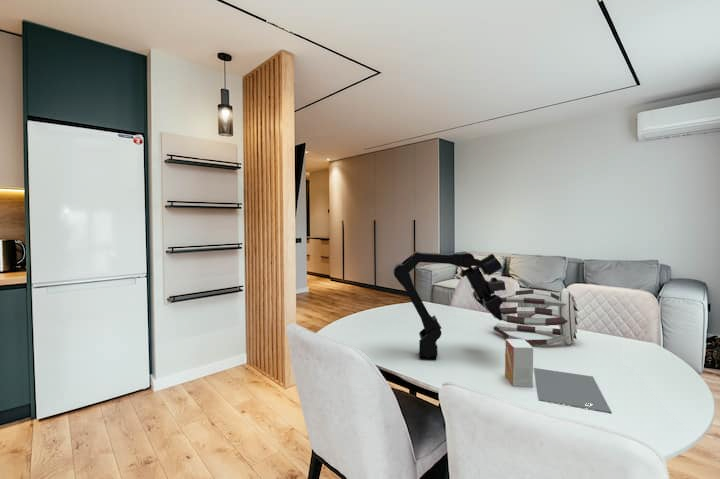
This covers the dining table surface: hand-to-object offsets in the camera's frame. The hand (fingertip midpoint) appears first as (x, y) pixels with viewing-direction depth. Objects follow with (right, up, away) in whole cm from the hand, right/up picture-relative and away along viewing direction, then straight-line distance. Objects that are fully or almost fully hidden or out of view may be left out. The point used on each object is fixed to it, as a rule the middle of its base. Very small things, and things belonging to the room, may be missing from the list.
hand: (497, 316), depth 134 cm
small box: (0, -18, -19) cm, 26 cm away
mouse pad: (+13, -18, -24) cm, 32 cm away
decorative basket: (+25, -15, +23) cm, 37 cm away
